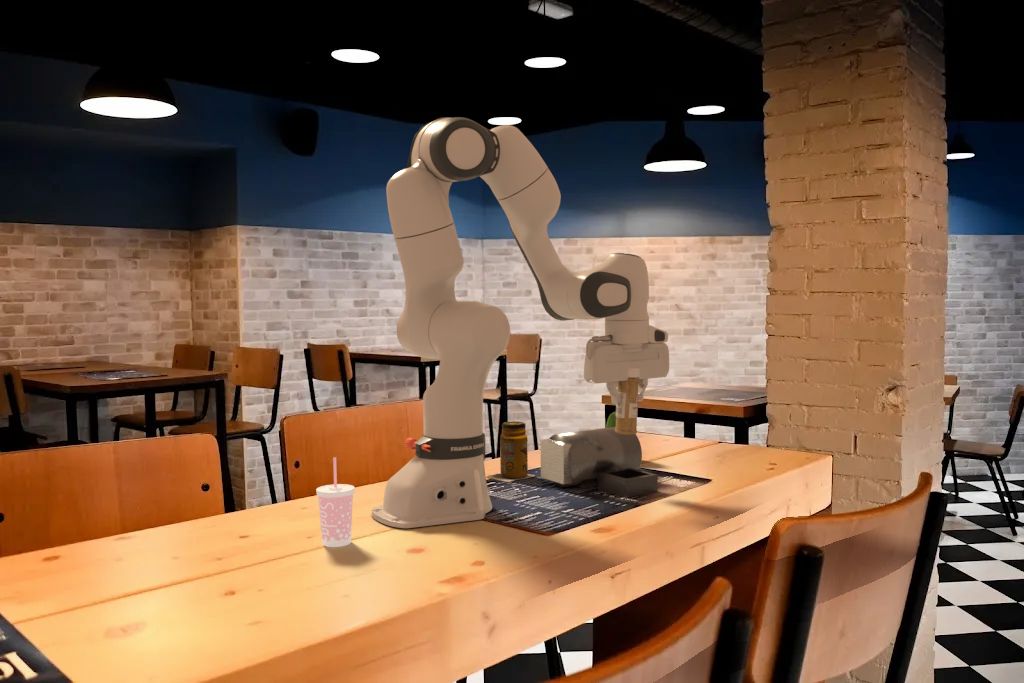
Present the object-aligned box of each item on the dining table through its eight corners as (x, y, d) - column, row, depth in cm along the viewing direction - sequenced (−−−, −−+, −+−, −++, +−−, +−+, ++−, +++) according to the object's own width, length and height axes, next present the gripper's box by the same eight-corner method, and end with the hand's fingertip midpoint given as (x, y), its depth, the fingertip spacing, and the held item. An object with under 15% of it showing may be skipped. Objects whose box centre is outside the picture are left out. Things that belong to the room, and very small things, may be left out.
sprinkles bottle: (639, 435, 164) (642, 368, 163) (616, 434, 164) (619, 367, 163) (634, 431, 168) (637, 366, 168) (612, 430, 168) (615, 365, 167)
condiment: (536, 476, 181) (535, 422, 181) (508, 482, 175) (507, 427, 175) (513, 471, 187) (512, 419, 186) (485, 477, 181) (484, 423, 180)
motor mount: (599, 502, 157) (598, 446, 157) (536, 483, 174) (536, 431, 174) (684, 486, 170) (684, 433, 169) (618, 469, 187) (618, 421, 187)
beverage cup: (310, 542, 134) (308, 457, 133) (344, 535, 138) (342, 452, 137) (328, 550, 129) (326, 463, 128) (362, 543, 133) (360, 457, 132)
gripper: (597, 337, 157) (597, 408, 157) (674, 333, 168) (674, 399, 169) (576, 335, 162) (577, 405, 163) (652, 332, 173) (653, 397, 174)
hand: (627, 402), depth 166 cm, fingers closed on sprinkles bottle, 4 cm apart
